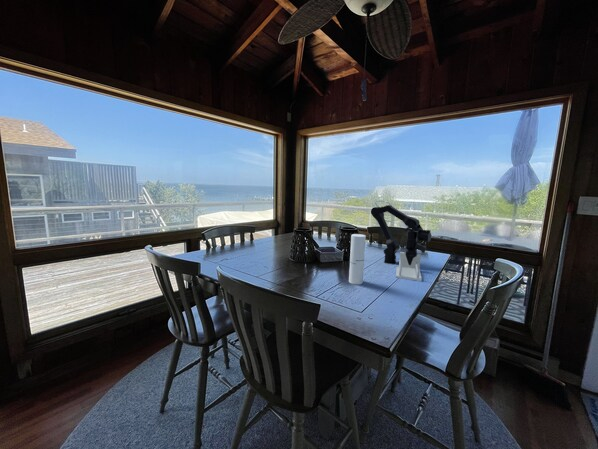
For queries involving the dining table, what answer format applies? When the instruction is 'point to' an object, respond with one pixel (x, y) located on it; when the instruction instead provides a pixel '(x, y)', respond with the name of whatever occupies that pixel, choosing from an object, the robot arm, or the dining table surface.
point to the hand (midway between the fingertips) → (409, 263)
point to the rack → (408, 272)
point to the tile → (415, 259)
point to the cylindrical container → (357, 258)
